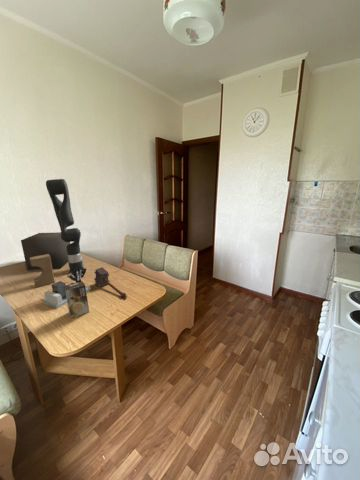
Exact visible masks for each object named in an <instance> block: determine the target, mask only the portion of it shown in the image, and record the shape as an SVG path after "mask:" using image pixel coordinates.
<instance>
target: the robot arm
mask: <svg viewBox="0 0 360 480" xmlns="http://www.w3.org/2000/svg"><path fill="white" fill-rule="evenodd" d="M45 186H46V190H47V192H48V195H49V198H50V200H51V203H52V206H53V209H54V214H55V216H56V220H57V222H58V226H59V229H60V232H61V239H62V240H63V241H64V242H70V244H68V245H67V246H66V249H67V255H68V263H67V264H68V268H69V274H67V276H66V277H67V278H69V280H71V281H74V282H75V283H77V282H81V281H82V279H83V278H84V277H85V274H86V273H87V268H85V267H84V261H83V259H84V258H83V257H82V254H81V247H80V245H81V244H80V242H81V236H82V235H81V234H82V233H81V230H80V229H79V228H77V227H74V228H69V227H72V226H73V225H75V220H74V216H73V213H72V208H71V200H70V199H71V198H70V193H69V188H68V184H67V181H66V179H64V178H58V179H48V180H46V181H45ZM60 195H63V199H62V200H61V199H59V198H58V196H60Z"/></svg>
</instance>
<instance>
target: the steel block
mask: <svg viewBox="0 0 360 480" xmlns="http://www.w3.org/2000/svg"><path fill="white" fill-rule="evenodd" d="M65 285H67V284H66V282H64V281H56V282H55V283H52V284H51V290H52V292H54V293H57V294H60V295H61V297H62V299H64V298H66V293H65V287H64V286H65Z"/></svg>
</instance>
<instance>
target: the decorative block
mask: <svg viewBox="0 0 360 480" xmlns="http://www.w3.org/2000/svg"><path fill="white" fill-rule="evenodd" d="M29 259H30V264H31V266H37V267H40V268H41V269H42V270H41V273H40V274H39V275H38V276H37V277H34V278H33V282H34V286H35V288H36V289H37V288H39V287H44V286H47V285H52V284H54V283H56V281H55V277H54V271H53V270H54V269H52V264H51V258H50V255H49V254H46V255H40V256H35V257H30V258H29Z"/></svg>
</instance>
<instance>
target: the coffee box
mask: <svg viewBox="0 0 360 480" xmlns="http://www.w3.org/2000/svg"><path fill="white" fill-rule="evenodd" d="M72 283H73V284H66V285H65V286H64V287H65V293H66V298H67V303H66V304H67V309H68V314H69V316H70V319H73V318H77V317H79V316H82V315H85V314H87V313H90V307H89V301H88V296H87V292H86V287H85V286H86V284H85V283H84V281H83V280H81V282H77V283H76V282H72Z"/></svg>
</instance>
